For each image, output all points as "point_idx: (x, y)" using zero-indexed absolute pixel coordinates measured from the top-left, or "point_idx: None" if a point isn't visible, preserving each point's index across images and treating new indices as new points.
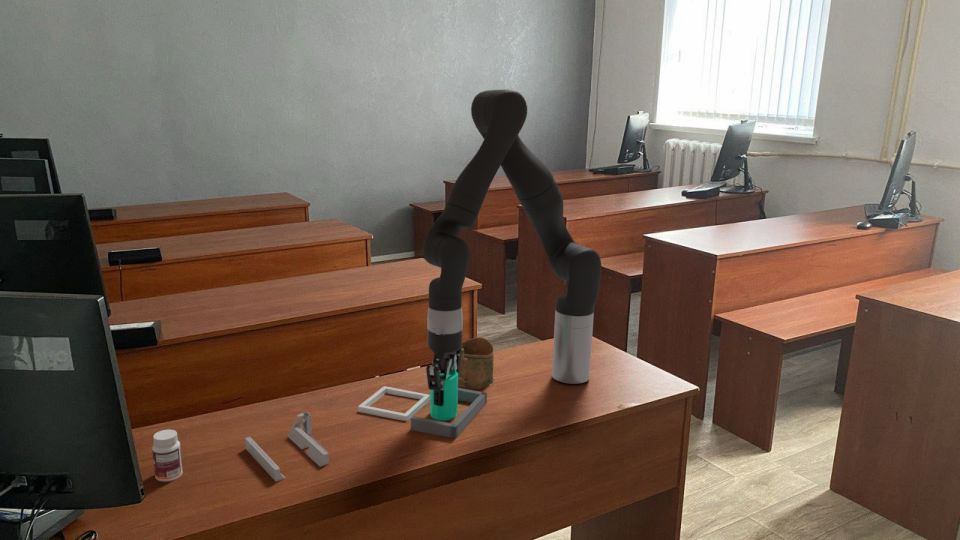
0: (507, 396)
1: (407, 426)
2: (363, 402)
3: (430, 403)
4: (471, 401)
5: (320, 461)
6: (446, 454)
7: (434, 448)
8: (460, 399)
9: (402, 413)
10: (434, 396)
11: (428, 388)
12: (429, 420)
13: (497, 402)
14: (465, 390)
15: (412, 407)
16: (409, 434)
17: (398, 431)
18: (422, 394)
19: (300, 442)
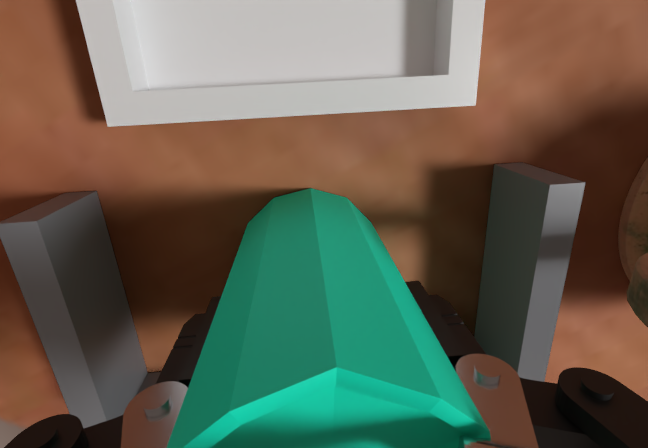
0: (622, 381)
1: (121, 133)
2: None
3: (263, 233)
4: (492, 322)
5: None
6: (23, 407)
7: (27, 351)
8: (498, 268)
9: (123, 74)
10: (171, 356)
11: (17, 435)
12: (58, 334)
13: (553, 373)
14: (538, 319)
15: (243, 91)
16: (53, 191)
17: (37, 118)
18: (464, 48)
19: None
